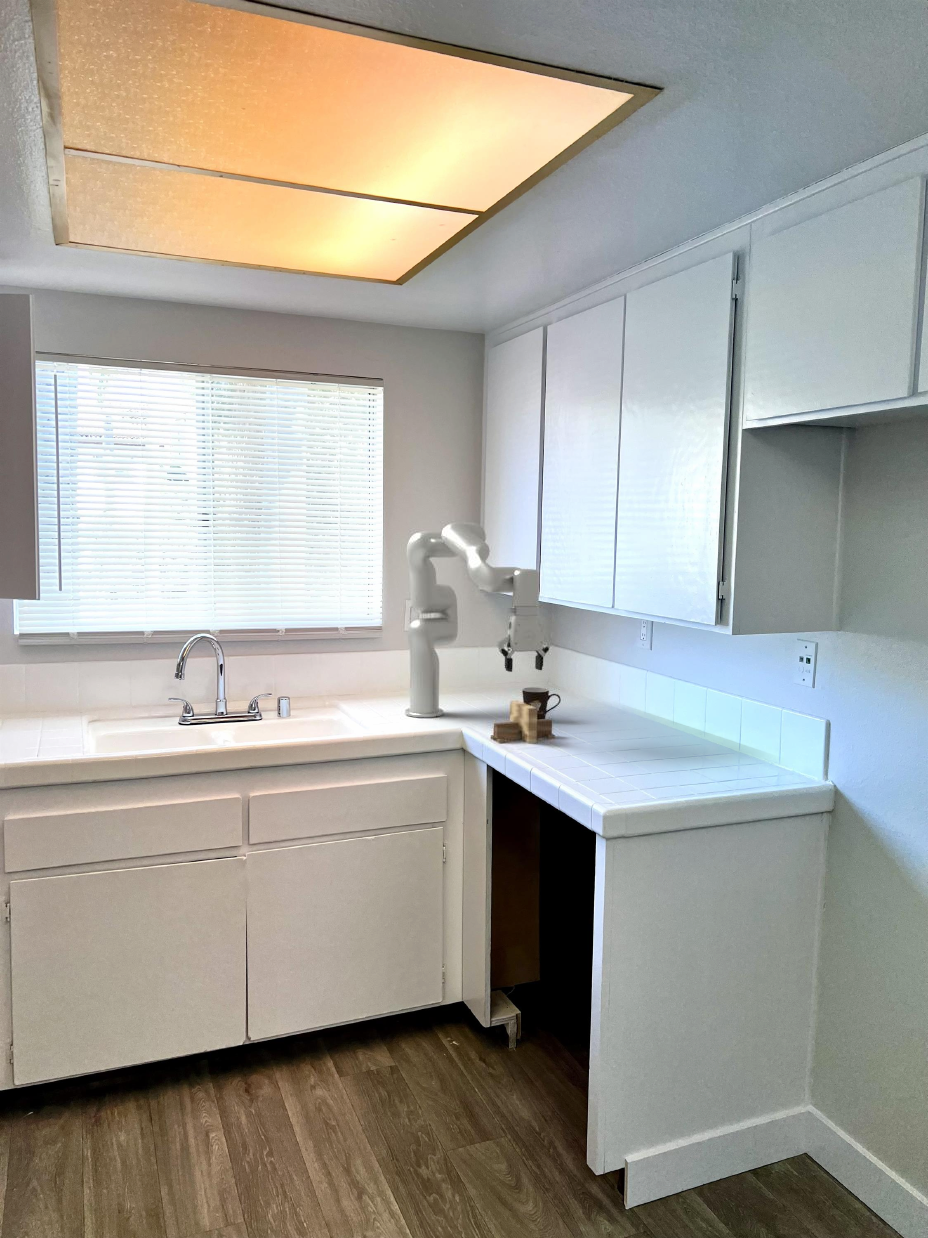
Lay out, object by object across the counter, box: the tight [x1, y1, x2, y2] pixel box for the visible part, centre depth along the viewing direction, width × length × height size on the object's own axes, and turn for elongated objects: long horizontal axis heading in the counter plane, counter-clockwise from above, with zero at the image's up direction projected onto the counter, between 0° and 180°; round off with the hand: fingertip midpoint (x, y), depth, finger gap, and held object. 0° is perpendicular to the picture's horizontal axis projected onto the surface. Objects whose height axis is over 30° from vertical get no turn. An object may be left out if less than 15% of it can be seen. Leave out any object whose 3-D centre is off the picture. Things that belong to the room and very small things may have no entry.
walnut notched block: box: [490, 718, 556, 744], centre depth 265 cm, size 6×18×5 cm, turn 113°
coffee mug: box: [521, 686, 562, 720], centre depth 289 cm, size 12×9×10 cm
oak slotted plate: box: [509, 700, 538, 744], centre depth 265 cm, size 12×3×10 cm, turn 24°
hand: (523, 670), depth 264 cm, fingers open, 9 cm apart
